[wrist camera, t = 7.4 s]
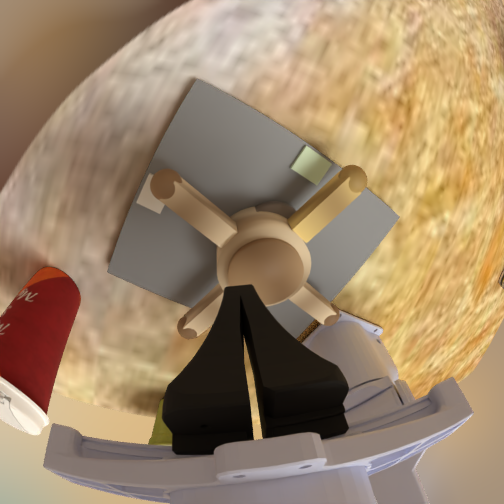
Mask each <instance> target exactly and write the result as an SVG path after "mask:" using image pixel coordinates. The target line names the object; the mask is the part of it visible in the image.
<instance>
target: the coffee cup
mask: <svg viewBox="0 0 504 504" xmlns="http://www.w3.org/2000/svg"><path fill="white" fill-rule="evenodd" d="M80 301H81V297H80V292H79V290H78V288H77V286H76V284H75V283H74V281H73V280H72V279H71V278H70V277H69V276H68V275H67V274H65V273H64V272H62V271H61V270H59V269H56V268H53V267H45V268H42V269H40V270H39V271H38V272H37V273H36V274H35V275H34V276H33V277H32V278H31V279H30V281H29V282H28V283H27V284H26V285H25V286H24V287H23V289H22V290H21V291H20V292H19V293H18V295H17V296H16V297H15V298H14V300H13V301H12V302H11V304H10V305H9V306H8V307H7V309H6V310H5V311H4V313H3V314H2V315H1V317H0V419H1V420H2V421H4V422H6V423H7V424H9V425H11V426H13V427H14V428H16V429H18V430H21V431H23V432H26V433H29V434H32V435H39V434H40V433H41V430H42V429H43V427H44V426H47V425H48V424H49V419H48V417H47V411H48V406H49V401H50V398H51V394H52V390H53V386H54V382H55V378H56V375H57V371H58V368H59V365H60V361H61V358H62V355H63V352H64V349H65V346H66V343H67V340H68V337H69V334H70V331H71V328H72V325H73V323H74V320H75V317H76V314H77V312H78V309H79V306H80Z"/></svg>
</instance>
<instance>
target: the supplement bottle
mask: <svg viewBox="0 0 504 504" xmlns="http://www.w3.org/2000/svg"><path fill="white" fill-rule="evenodd" d="M499 284H500V286H501V287H502V288H503V289H504V270H503V272H502V274H501V276H500V279H499Z"/></svg>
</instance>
